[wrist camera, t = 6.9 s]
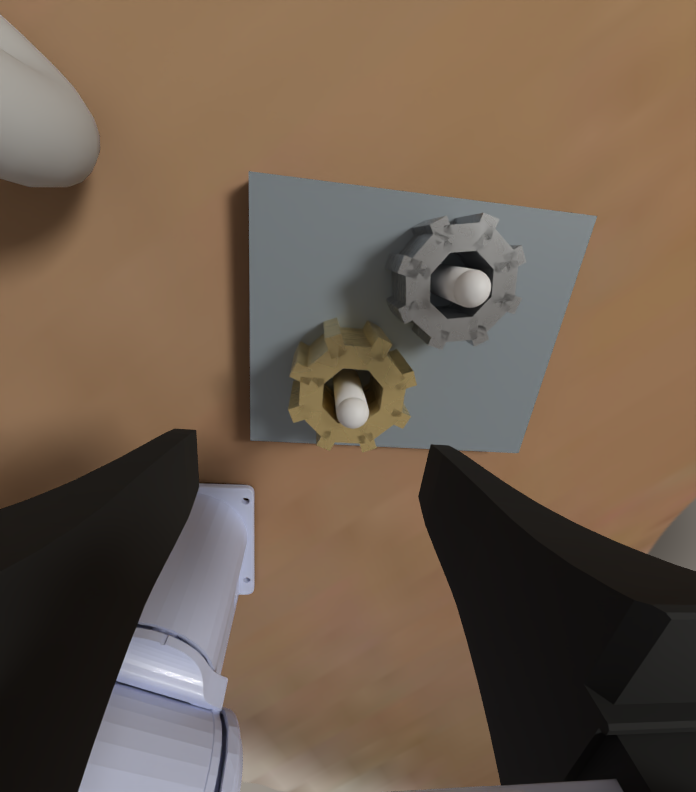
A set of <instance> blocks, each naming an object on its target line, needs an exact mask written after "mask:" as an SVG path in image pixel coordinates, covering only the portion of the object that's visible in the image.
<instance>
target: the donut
mask: <svg viewBox="0 0 696 792" xmlns="http://www.w3.org/2000/svg"><path fill="white" fill-rule="evenodd" d="M99 153H100V135H99V132H98V129H97V126H96V123H95V120H94V117H93V116H92V114H91V113H90V111H89V110H88V108H87V106H86V105H85V103H84V102H83V100H82V98H81V97H80V95H79V94H78V92H77V91H76V89H75V88H74V87H73V86H72V84H71V83H70V82H69V81H68V80H67V79H66V78H65V77H64V76H63V75H62V73H61V72H60V71H59V70H58V69H57V68H56V67H55V66H54V65H53V64H52V63H51V62H50V61H49V60H48V59H47V58H46V57H45V56H44V55H43V54H42V53H41V52H40V51H39V50H38V49H37V48H36V47H35V46H34V45H32V44H31V43H30V42H29V41H28V40H27V39H26V38H25V37H24V36H23V35H22V34H21V33H20V32H19V31H18V30H17V29H16V28H15V27H14V26H12V25H11V24H10V23H9V22H8V21H7V20H6V19H5V18H4V17H3V16H1V15H0V179H3V180H7V181H10V182H14V183H17V184H21V185H24V186H28V187H70V186H73V185H76V184H78V183H81V182H83V181H84V180H85V179H86V177H87V176H88V175H89V174H90V173H91V172H92V170H93V168H94V166H95V164H96V161H97V158H98V155H99Z"/></svg>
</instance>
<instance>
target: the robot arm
mask: <svg viewBox="0 0 696 792" xmlns="http://www.w3.org/2000/svg"><path fill="white" fill-rule="evenodd" d="M418 497H419V501H420V506H421V510H422V514H423V518H424V522H425V525H426V528H427V531H428V533H429V536H430V538H431V541H432V543H433V546H434V549H435V551H436V554H437V556H438V558H439V561H440V563H441V566H442V568H443V571H444V573H445V576H446V578H447V581H448V583H449V586H450V588H451V591H452V594H453V597H454V599H455V602H456V605H457V608H458V612H459V615H460V618H461V622H462V625H463V629H464V632H465V636H466V639H467V643H468V647H469V650H470V654H471V658H472V662H473V665H474V669H475V673H476V677H477V681H478V685H479V689H480V693H481V697H482V701H483V706H484V710H485V714H486V718H487V722H488V727H489V731H490V735H491V740H492V745H493V750H494V754H495V759H496V764H497V768H498V773H499V778H500V783H501V786H480V787H462V788H445V789H428V790H410V791H393V792H696V571H693V570H690V569H687V568H684V567H681V566H677V565H674V564H672V563H669V562H666V561H664V560H661V559H659V558H656V557H653V556H651V555H648V554H645V553H643V552H640V551H638V550H635V549H633V548H630V547H628V546H625V545H623V544H620V543H618V542H616V541H613V540H611V539H609V538H607V537H604V536H602V535H600V534H598V533H596V532H593V531H591V530H589V529H587V528H585V527H583V526H580V525H578V524H576V523H574V522H572V521H570V520H568V519H566V518H565V517H563V516H561V515H559V514H557V513H555V512H553V511H551V510H550V509H548V508H546V507H544V506H542V505H541V504H539V503H537V502H535V501H534V500H532V499H530V498H529V497H527V496H525V495H524V494H522V493H521V492H519V491H517V490H516V489H514V488H513V487H511V486H510V485H508V484H506V483H505V482H503V481H502V480H500V479H499V478H497V477H496V476H495V475H493V474H492V473H490V472H489V471H487V470H486V469H484V468H483V467H481V466H480V465H479V464H477V463H476V462H474V461H473V460H471V459H470V458H468V457H467V456H466V455H464V454H463V453H461V452H459V451H458V450H456V449H455V448H453V447H451V446H449V445H434V444H431V445H430V449H429V454H428V458H427V462H426V466H425V471H424V475H423V479H422V483H421V488H420V492H419V496H418ZM243 498H248V499H249V500H244V499H243ZM246 577H247V578H246ZM253 591H254V489H253V488H252V487H251V486H249V485H234V484H204V483H199V474H198V455H197V437H196V430H188V429H173V430H171V431H168V432H166V433H164V434H162V435H161V436H159V437H157V438H155V439H153V440H151V441H150V442H148V443H146V444H144V445H142V446H140V447H139V448H137V449H135V450H133V451H131V452H129V453H128V454H126V455H124V456H122V457H120V458H118V459H116V460H114V461H112V462H110V463H108V464H106V465H104V466H102V467H100V468H98V469H96V470H94V471H92V472H90V473H88V474H86V475H84V476H82V477H80V478H78V479H76V480H74V481H71V482H69V483H67V484H65V485H62V486H60V487H58V488H55V489H53V490H50V491H48V492H45V493H43V494H40V495H38V496H35V497H33V498H30V499H28V500H25V501H23V502H20V503H17V504H14V505H11V506H8V507H5V508H2V509H0V792H240V787H241V779H242V768H243V749H242V741H241V737H240V729H239V723H238V719H237V717H236V715H235V713H234V712H233V711H232V710H231V709H228V708H224V707H222V706H223V701H224V696H225V691H226V686H227V682H228V679H227V678H226V677H224V676H222V675H221V671H222V666H223V662H224V657H225V653H226V648H227V644H228V640H229V635H230V631H231V626H232V622H233V618H234V613H235V609H236V604H237V600H238V595H239V594H251V593H252V592H253Z"/></svg>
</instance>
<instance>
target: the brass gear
mask: <svg viewBox="0 0 696 792" xmlns="http://www.w3.org/2000/svg"><path fill="white" fill-rule="evenodd" d="M323 324H324V334H323V335H321V336H320V337H319V338H318V339H317V340H315V341H314V342H313V343H312V344H311V345H310V346H309V345H307V344H305V343H303V342H301V341H300V343H299V345H298V347H297V349H296V351H295V353H294V357H293V362H292V366H291V371H290V376H289V377H291V378H293V379H295V381H293V385H292V390H291V396H290V401H289V407H288V411H289V413H290V416H291V418H292V421H293V423H295V422H299V421H302V420H305V421H306V422H307V423H308V424H309V425H310V426H311V427H312V428H313V429H314V430H315V431H316V445H317V446H319V447H322V448H324V449H326V450H329V451H330V450H331V448H332V446H333V445H334V443H335V442H336V443H357V444H360V447H361V450H362V452H366V451H369V450H372V449H376V448H377V447H376V444H375V440H374V439H375V438H376V437H378V436H379V435H380V434H382V433H383V432H385V431H386V430H387V429H389V428H390V427H391V426H393V425H395V426H398V427H400V428H402V429H403V428H404V427H405V425H406V424H407V422H408V421H409V419H410V418H411V416H410V414H409V412H408V410H407V408H406V406H405V405H404V403H403V402H404V396H405V391H406V389H407V388H410V387H413V386H416V385H417V383H416V379H415V375H414V371H413V370H412V368H411V367H410V366H409V364H408V363H407V362H406V360H405V359H404V358H403V356H402V355H401V354H400V352H399V351H398V350H397V349H395V350H392V351H389V350H390V348H391V346H392V345H393V344H392V343H391V342H390V340H389V339H388V337H387V336H386V335H385V333H384V332H383V331H382V329H381V328H380V327H379V326H377V325H376V324H374V323H372V322H370V321H368V320H367V322H366V323H365V325H364V327H363V329H357V328H345V327H340V326H339V323H338V320H337V317H336V318H333V319H330V320H327V321H324V322H323ZM388 351H389V352H388ZM343 368H344V369H358V370H369V372H370V373H371V376H370V382H369V383H368V384H367V385H366V386H364V387H363V388H362V389H363V392H364V395H365V398H366V402H367V405H368V408H369V416H368V419H367V421H366V422H365V424H364V425H362V426H361V427H359V428H355V429H351V428H347V427H345V426H343V425H342V424H341V423H340V422H339V420H338V418H337V414H336V405H335V396H334V392H333V391H332V390H331V389H330V388H329V387H328V386H327V385H326V384H325V383H326V382H327V381H328V380H329V379H331V378H332V377H333V376H334V375H336V374H337V373H338V372H339V371H341V370H342V369H343Z"/></svg>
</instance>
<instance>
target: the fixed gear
mask: <svg viewBox="0 0 696 792" xmlns="http://www.w3.org/2000/svg"><path fill="white" fill-rule="evenodd" d="M498 222H499V219H498V218H496V217H493V216H491V215H488V214H486V213H479V214H474V215H468V216H463V217H458V218H455V221H454V223H453V225H450V223H449V220H448V217H447V216H442V217H438V218H433V219H429V220H425V221H423V222H421V223H419V224H417V225H416V226H414V227H412V228H411V229H412V232H413V234H414V236H413V237H412V238H411V240H410V241H409V242H408V243H407V244H406V246H405V247H404V248H403V249H402V250H401V252H400V253H399V254H391V253H390V255H389V257H388V260H387V263H386V266H385V269H388V270H390V271H392V296H390V297H389V298H387V299H386V301H387V303H388V305H389V308H390V310H391V312H392V313H393V314H394V315H395V316H396V317H398V318H399V319H400V320H401V321H402V322H403V323H404V324H406V323H408V322H410V321H412V322H413V323H414V324H413V327H412V329H411V330H412V331H413V332H414V333H415V334H416V335H417V336H419V337H420V338H421V339H422V340H423V341H424V342H425V343H426V344H427V345H429V346H432V347H435V348H438V349H442V350H443V348H444V345H445V343H446V342H453V341H464V340H465V341H466V342H468V343H469V344H471V345H472V346H474V347H475V346H477V345H479V344H481V343H483V342H485V341H487V340H489V337H488V334H487V332H488V331H489V330H490V329H491V328H492V327H493V326H494V325H495V324H496V322H497V321H498V320H499V319H500V318H501V317H502V316H503V315H504V314H505V313H506V312H509V313H512V314H515V312H516V310H517V308H518V306H519V304H520V302H521V300H522V298H520V297H517V296H515V290H516V281H517V272H518V266H520V265H522V264H524V263H526V259H525V255H524V251H523V247H522V245H509V244H508V243H507V242H506V241H505V239H504V238H503V237H502V236H501V235H500V234H499V232H498V231H497V230H496V226H497V224H498ZM449 253H454V254H455V255H456V256H457V257H458V258H459V259H460V260H461V261H462V262H463V263H464V264H465V265H466V267H465V268H469V269H476V270H480V271H482V272H484V273H485V274H486V275H487V276H488V278H489V279H490V282H491V291H490V294H489V296H488V298H487V299H486V301H485V302H483V303H482V304H481V305H479V306H477V307H472V308H467V307H463V306H461V305H459V304H456V303H454V302H451V303H450V305H449V306H438V307H434V306H433V305H432V304H431V303H430V278H431V274H432V273H433V271H434V270H435V269H436V268H437V267H438V266H439V265H440V264H441V262H442V261H443V260H444V259H445V258H446V257H447V256H448V255H449Z"/></svg>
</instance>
